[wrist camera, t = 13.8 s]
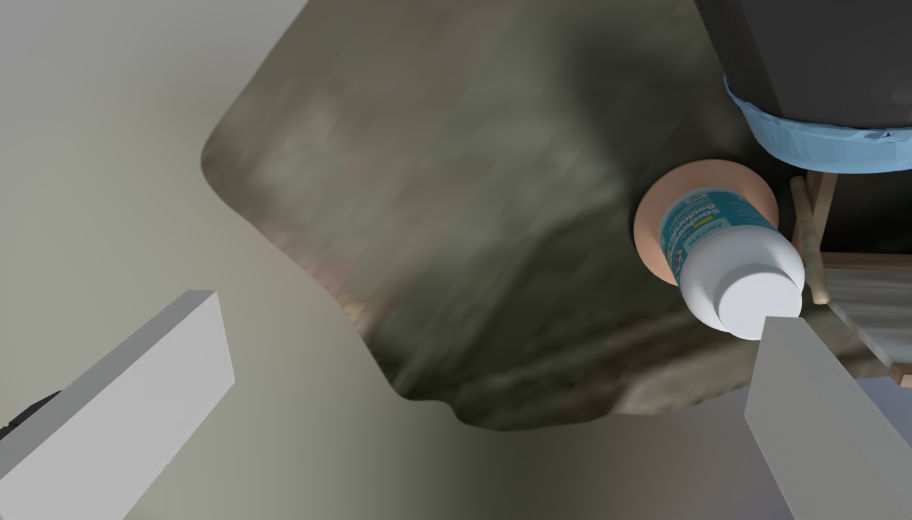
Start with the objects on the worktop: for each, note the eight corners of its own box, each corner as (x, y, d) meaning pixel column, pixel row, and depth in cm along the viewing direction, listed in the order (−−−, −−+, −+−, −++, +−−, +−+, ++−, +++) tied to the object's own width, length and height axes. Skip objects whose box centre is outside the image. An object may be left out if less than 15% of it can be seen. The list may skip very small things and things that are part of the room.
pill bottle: (683, 169, 45) (736, 230, 33) (771, 202, 45) (857, 276, 33) (639, 251, 48) (672, 334, 36) (722, 282, 48) (783, 376, 36)
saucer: (640, 157, 46) (641, 159, 45) (789, 159, 44) (792, 161, 44) (626, 282, 50) (627, 286, 50) (761, 288, 49) (764, 291, 48)
